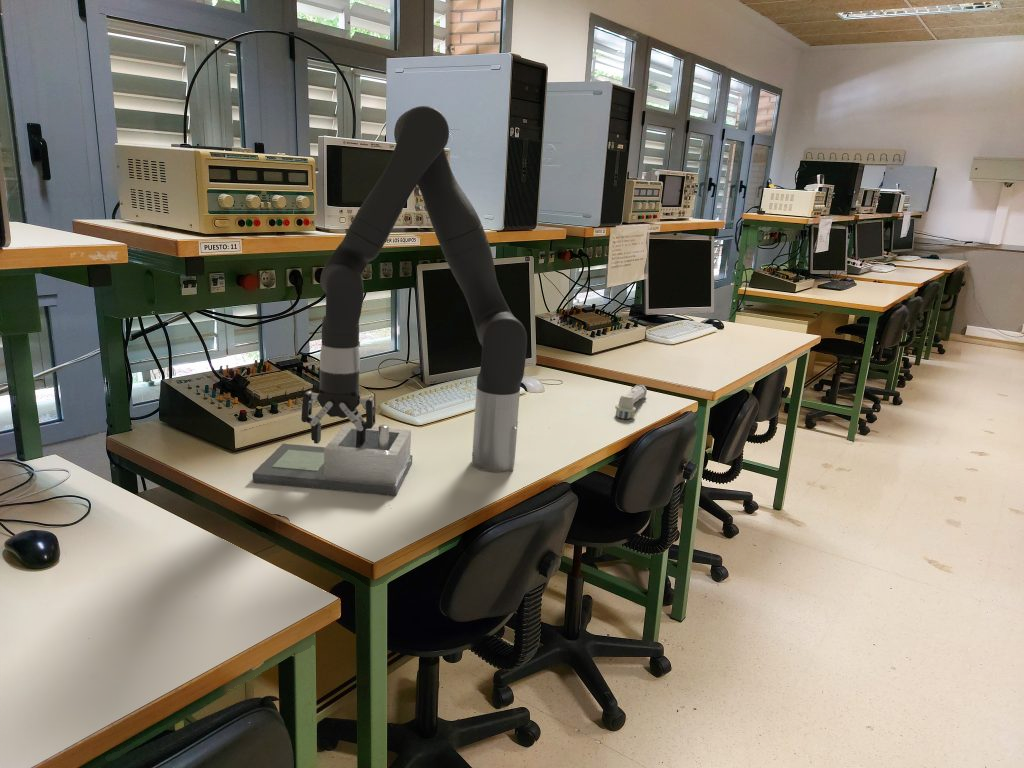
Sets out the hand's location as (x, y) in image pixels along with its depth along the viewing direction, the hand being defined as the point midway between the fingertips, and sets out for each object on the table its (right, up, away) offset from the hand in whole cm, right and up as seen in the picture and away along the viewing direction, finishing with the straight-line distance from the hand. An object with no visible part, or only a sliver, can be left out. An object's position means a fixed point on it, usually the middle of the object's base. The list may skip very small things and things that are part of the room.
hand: (338, 444), depth 143 cm
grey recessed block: (+6, -5, +1) cm, 8 cm away
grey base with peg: (-1, -6, +2) cm, 6 cm away
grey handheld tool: (+69, +5, +59) cm, 91 cm away
